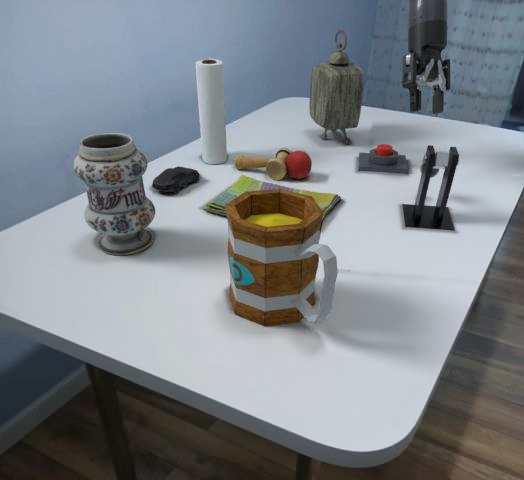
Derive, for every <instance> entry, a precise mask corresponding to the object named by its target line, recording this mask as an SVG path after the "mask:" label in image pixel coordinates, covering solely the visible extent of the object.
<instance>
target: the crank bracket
mask: <svg viewBox="0 0 524 480" xmlns="http://www.w3.org/2000/svg"><path fill="white" fill-rule="evenodd" d="M448 152H450V155H449V162H448V167H446V168H445V169H444V170H443V174H442V179H441V183H440V187H439V191H438V194H437V199H436V203H435V205H425V203H426V198H427V194H428V190H429V185H430V181H431V178H430V177H431V173H432V168H433V164H434V160H435V155H436V151H435V147H434V145H432V144H431V145H427V146H426V151H425V154H424V155H423V160H422V164H423V169H422V174H421V173H420V179H419V184H418V188H417V192H416V196H415V202H414V204H410V203H401V206H402V213H403V214H402V215H403V221H404V227H405V228H410V229H411V228H412V229H425V230H439V231H450V232H451V231H453V232H455V230H456V229H455V226H454V223H453V220H452V215H451V213H450V212H451V211H450V209H449V207H448V206H447V205H448V201H449V197H450V194H451V190H452V186H453V182H454V178H455V175H456V171H457V166H458V165H459V162H460V154H459V151H458V149H457V147H456V146H450V147H449V151H448Z"/></svg>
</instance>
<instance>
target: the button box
mask: <svg viewBox="0 0 524 480" xmlns="http://www.w3.org/2000/svg"><path fill="white" fill-rule="evenodd" d="M376 150H377V147H376V148H375V147H374V148H372V149H370V150H369V152H359V153H358V160H357V161H358V163H357V164H358V167H357V172H367V173H368V172H369V173H384V174H401V175H407V174H408V171H409V167H408V161H407V155H406V154H399V152H398V151H397V150H395V149H393V150H392V155H391V156H381V155H377V154H376Z"/></svg>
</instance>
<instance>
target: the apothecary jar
mask: <svg viewBox="0 0 524 480" xmlns="http://www.w3.org/2000/svg"><path fill="white" fill-rule="evenodd" d="M147 169H148V159H147V157H146V155H145V154H144V152H142V151H141V150H140V149H138V147H137V146H136V144H135V141H134V138H133V137H132V136H131V135H129V134H125V133H119V132H104V133H95V134H90V135H87V136H85V137H83V138H82V139H80V141H79V153H78V155H77V156H76V157H75V158H74V161H73V172H74V174H75V176H76V177H77V178H78V179H79V180H81V182H84V187H85V190H86V195H87V201H88V204H87V205H86V206H85V209H84V212H83V218H84V221H85V223H86V224H87V225H88V227H89V228H91V229H92V230H94V231H96V232H97V233H100V234H102V236H101V237H100V238H99V240H98V243H97V245H98V248H99V249H100V251H101V252H103V253H105V254H108V255H112V256H127V255H128V256H129V255H134V254H137V253H140V252H142V251H145V250H146V249H148V248H149V247H150V246H151V245H152V244H153V242H154V235H153V233H151V231H149V230H148V229H146V228H147V227H148V226H149V225H151V223H152V222H153V221H154V219H155V216H156V207H155V205H154V203H153V202H152V200H151V199H150V198H149V197H147V194H146V191H145V185H144V178H143V175H145V174H146V171H147Z"/></svg>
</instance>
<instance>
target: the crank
mask: <svg viewBox="0 0 524 480" xmlns="http://www.w3.org/2000/svg"><path fill="white" fill-rule="evenodd" d="M435 153H436V155H435V160H434V164H433V168H432V173H431V177H430V179H432V178H434V177H436V176H437V175H438V174H439V171H440V170H445V168H446V167H448V162H449V155H450V152H449V151H435ZM422 169H423V163H422V164H421V165H420V175H421V174H422Z"/></svg>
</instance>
